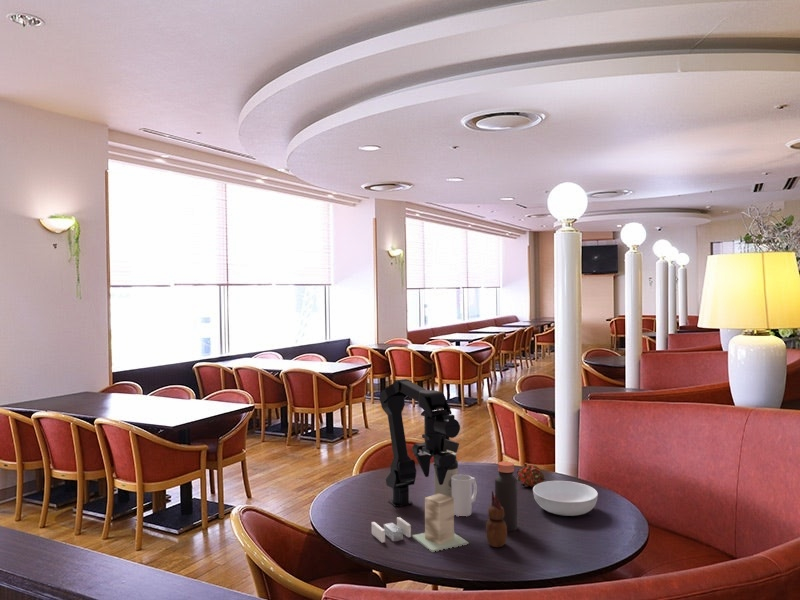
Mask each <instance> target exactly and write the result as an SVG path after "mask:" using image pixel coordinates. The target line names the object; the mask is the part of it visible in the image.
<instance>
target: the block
mask: <svg viewBox="0 0 800 600" xmlns="http://www.w3.org/2000/svg"><path fill="white" fill-rule="evenodd" d="M424 533H425V539H428V540H430V541H433V542H435V543H438V544H442V543H445V542H447V541H450V540H452V539H454V533H455V515H454V498H452V497H449V496H446V495H443V494H440V493H438V494H435V493H434V494H432V495H429V496H427V497H426V496H425V497H424Z"/></svg>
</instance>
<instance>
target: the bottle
mask: <svg viewBox="0 0 800 600" xmlns="http://www.w3.org/2000/svg"><path fill="white" fill-rule="evenodd" d="M497 473H498V475H497V476H496V477H495V478H494V495H495V494H496V497H497V499H498V501H499V502H500V505H501V506H502V507H503V509H504V518H503V520H504V521H505V523H506V526H507V533H508V532H514V531H517V529H518V480H517V477H515V476H514V473H515V463H514V462H512V461H504V460H503V461H499V462H498V463H497Z"/></svg>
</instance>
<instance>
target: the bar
mask: <svg viewBox="0 0 800 600" xmlns="http://www.w3.org/2000/svg"><path fill="white" fill-rule="evenodd" d="M383 529H384V530H385V537H386V536H387V538H388V539H390V540H391V541H392V542H398V541H403V540H404V534H403V530H402V529H400V528H399V527H398V526H397V524H395V523H394V522H388V523H383Z"/></svg>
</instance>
